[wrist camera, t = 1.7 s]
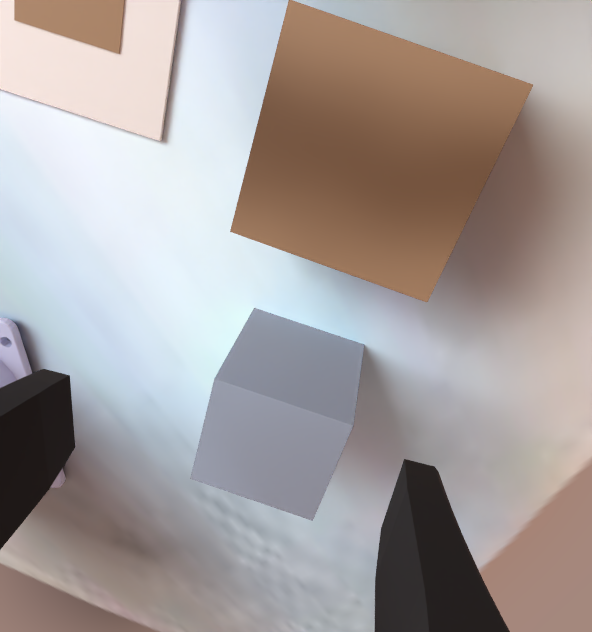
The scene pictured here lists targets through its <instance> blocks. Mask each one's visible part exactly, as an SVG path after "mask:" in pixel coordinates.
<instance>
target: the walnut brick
mask: <svg viewBox="0 0 592 632" xmlns="http://www.w3.org/2000/svg"><path fill="white" fill-rule="evenodd" d="M532 87H533V85H532V84H530V83H527V82H524V81H521V80H518V79H515V78H512V77H510V76H507V75H504V74H501V73H498V72H495V71H492V70H490V69H487V68H484V67H481V66H478V65H475V64H472V63H470V62H467V61H464V60H461V59H458V58H455V57H452V56H450V55H447V54H444V53H441V52H438V51H435V50H432V49H430V48H427V47H424V46H421V45H418V44H415V43H412V42H410V41H407V40H404V39H401V38H398V37H395V36H392V35H390V34H387V33H384V32H381V31H378V30H375V29H372V28H370V27H367V26H364V25H361V24H358V23H355V22H352V21H350V20H347V19H344V18H341V17H338V16H335V15H332V14H330V13H327V12H324V11H321V10H318V9H315V8H312V7H310V6H307V5H304V4H301V3H298V2H295V1H292V0H289V2H288V6H287V10H286V14H285V18H284V21H283V25H282V29H281V33H280V37H279V41H278V45H277V49H276V53H275V57H274V61H273V65H272V69H271V73H270V77H269V81H268V85H267V89H266V92H265V96H264V100H263V104H262V108H261V112H260V116H259V120H258V124H257V128H256V132H255V136H254V140H253V144H252V148H251V152H250V156H249V160H248V163H247V167H246V171H245V175H244V179H243V183H242V187H241V191H240V195H239V199H238V203H237V207H236V211H235V215H234V219H233V223H232V227H231V231H230V232H233V233H236V234H238V235H241V236H244V237H247V238H249V239H252V240H255V241H258V242H261V243H263V244H266V245H269V246H272V247H275V248H277V249H280V250H283V251H286V252H288V253H291V254H294V255H297V256H300V257H302V258H305V259H308V260H311V261H313V262H316V263H319V264H322V265H325V266H327V267H330V268H333V269H336V270H339V271H341V272H344V273H347V274H350V275H352V276H355V277H358V278H361V279H364V280H366V281H369V282H372V283H375V284H377V285H380V286H383V287H386V288H389V289H391V290H394V291H397V292H400V293H403V294H405V295H408V296H411V297H414V298H416V299H419V300H422V301H425V302H428V300H429V298H430V296H431V293H432V291H433V289H434V287H435V285H436V283H437V281H438V279H439V277H440V275H441V273H442V271H443V269H444V267H445V265H446V263H447V261H448V259H449V257H450V255H451V252H452V250H453V248H454V246H455V244H456V242H457V240H458V238H459V236H460V234H461V232H462V230H463V228H464V226H465V224H466V222H467V220H468V218H469V216H470V214H471V212H472V209H473V207H474V205H475V203H476V201H477V199H478V197H479V195H480V193H481V191H482V189H483V187H484V185H485V183H486V181H487V179H488V177H489V175H490V173H491V171H492V169H493V166H494V164H495V162H496V160H497V158H498V156H499V154H500V152H501V150H502V148H503V146H504V144H505V142H506V140H507V138H508V136H509V134H510V132H511V130H512V128H513V125H514V123H515V121H516V119H517V117H518V115H519V113H520V111H521V109H522V107H523V105H524V103H525V101H526V99H527V97H528V95H529V93H530V91H531V89H532Z"/></svg>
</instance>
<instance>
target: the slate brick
mask: <svg viewBox="0 0 592 632" xmlns="http://www.w3.org/2000/svg"><path fill="white" fill-rule="evenodd" d="M363 351H364V344H361V343H358V342H355V341H352V340H349V339H346V338H343V337H340V336H337V335H334V334H331V333H328V332H325V331H322V330H319V329H316V328H313V327H310V326H307V325H304V324H301V323H298V322H295V321H292V320H289V319H286V318H283V317H280V316H277V315H274V314H271V313H268V312H265V311H262V310H259V309H256V308H254V309H253V311H252V313H251V315H250V317H249V318H248V320H247V322H246V324H245V325H244V327H243V329H242V331H241V333H240V334H239V336H238V338H237V340H236V341H235V343H234V345H233V347H232V349H231V350H230V352H229V354H228V356H227V357H226V359H225V361H224V363H223V365H222V366H221V368H220V370H219V372H218V373H217V375H216V377H215V379H214V383H213V387H212V391H211V396H210V400H209V404H208V408H207V412H206V416H205V420H204V424H203V429H202V433H201V437H200V441H199V445H198V449H197V453H196V458H195V462H194V466H193V470H192V474H191V478H190V479H193V480H196V481H199V482H202V483H205V484H208V485H211V486H214V487H216V488H219V489H222V490H225V491H228V492H231V493H234V494H237V495H240V496H243V497H245V498H248V499H251V500H254V501H257V502H260V503H263V504H266V505H269V506H271V507H274V508H277V509H280V510H283V511H286V512H289V513H292V514H295V515H298V516H300V517H303V518H306V519H309V520H312V521H313V519H314V516H315V514H316V512H317V509H318V507H319V505H320V502H321V500H322V498H323V495H324V493H325V491H326V488H327V486H328V484H329V481H330V479H331V477H332V474H333V472H334V470H335V467H336V465H337V463H338V460H339V458H340V456H341V453H342V451H343V449H344V447H345V444H346V442H347V440H348V437H349V435H350V433H351V430H352V428H353V425H354V418H355V410H356V403H357V395H358V388H359V381H360V373H361V366H362V358H363Z"/></svg>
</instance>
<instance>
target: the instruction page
mask: <svg viewBox="0 0 592 632" xmlns="http://www.w3.org/2000/svg"><path fill="white" fill-rule="evenodd" d="M180 5H181V0H0V89H1V90H5V91H8V92H11V93H14V94H17V95H20V96H23V97H26V98H29V99H32V100H35V101H38V102H41V103H44V104H47V105H51V106H54V107H57V108H60V109H63V110H66V111H69V112H72V113H75V114H78V115H81V116H84V117H87V118H90V119H93V120H97V121H100V122H103V123H106V124H109V125H112V126H115V127H118V128H121V129H124V130H127V131H130V132H133V133H136V134H139V135H143V136H146V137H149V138H152V139H155V140H158V141H161V140H162V133H163V126H164V119H165V112H166V105H167V98H168V91H169V84H170V76H171V69H172V62H173V55H174V48H175V41H176V34H177V27H178V20H179V12H180Z"/></svg>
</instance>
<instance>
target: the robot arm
mask: <svg viewBox="0 0 592 632" xmlns="http://www.w3.org/2000/svg"><path fill="white" fill-rule="evenodd" d="M7 338H8V339H9V340H10V341H11V342H10V341H9V340H8V339H7ZM74 448H75V440H74V427H73V414H72V401H71V388H70V375H66V374H62V373H58V372H54V371H50V370H46V369H42V370H40V371H37V372H35V373H32V371H31V368H30V364H29V361H28V358H27V355H26V352H25V349H24V346H23V342H22V339H21V336H20V333H19V330H18V327H17V325H16V324H15V323H14V322H13V321H11V320H10V319H7V318H0V549H1V548H2V547H3V546H4V544H5V543H6V542H7V541H8V539H9V538H10V537H11V536H12V535H13V533H14V532H15V531H16V530H17V528H18V527H19V526H20V525H21V524H22V522H23V521H24V520H25V519H26V517H27V516H28V515H29V514H30V512H31V511H32V510H33V509H34V507H35V506H36V505H37V504H38V502H39V501H40V500H41V499H42V497H43V496H44V495H45V494H46V492H47V491H48V490H49V488H50V487H51V488H59V487H61V486H62V485H63V483H64V482H65V480H66V479H65V474H64V471H63V466H64V465H65V463H66V461H67V460H68V458H69V456H70V455H71V453H72V451H73V450H74ZM375 632H510V631H509V630H508V628H507V626H506V624H505V622H504V620H503V618H502V617H501V615H500V612H499V611H498V609H497V607H496V605H495V603H494V601H493V599H492V597H491V596H490V593H489V591H488V589H487V587H486V585H485V583H484V581H483V579H482V577H481V575H480V573H479V571H478V568H477V566H476V564H475V562H474V560H473V557H472V555H471V553H470V551H469V549H468V546H467V544H466V542H465V540H464V537H463V535H462V533H461V530H460V528H459V526H458V523H457V521H456V518H455V516H454V513H453V511H452V508H451V506H450V503H449V500H448V498H447V495H446V492H445V489H444V487H443V484H442V481H441V478H440V475H439V472H438V471H437V469H436V468H435V467H434V466H430V465H426V464H422V463H418V462H414V461H410V460H406V459H404V462H403V465H402V468H401V471H400V474H399V477H398V480H397V483H396V486H395V489H394V492H393V495H392V498H391V501H390V504H389V507H388V510H387V513H386V516H385V519H384V522H383V525H382V528H381V535H380V543H379V551H378V560H377V569H376V578H375Z"/></svg>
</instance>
